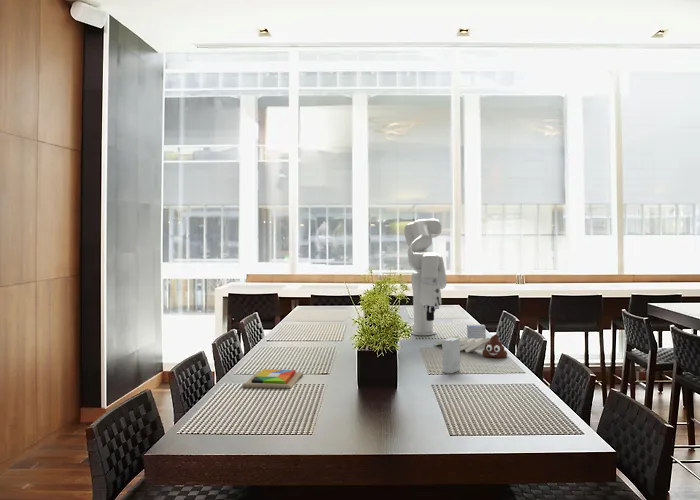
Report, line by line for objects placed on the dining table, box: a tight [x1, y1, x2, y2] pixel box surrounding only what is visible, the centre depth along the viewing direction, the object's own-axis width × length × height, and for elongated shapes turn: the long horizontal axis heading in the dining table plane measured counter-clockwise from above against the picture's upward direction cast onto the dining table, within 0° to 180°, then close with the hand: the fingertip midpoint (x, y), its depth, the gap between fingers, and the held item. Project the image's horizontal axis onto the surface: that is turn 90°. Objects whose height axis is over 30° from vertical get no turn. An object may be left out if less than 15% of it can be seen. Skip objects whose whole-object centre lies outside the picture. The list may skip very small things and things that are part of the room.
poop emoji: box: [481, 333, 508, 359], centre depth 241 cm, size 10×8×9 cm
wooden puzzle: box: [241, 368, 304, 389], centre depth 210 cm, size 17×19×4 cm
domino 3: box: [460, 338, 483, 352], centre depth 250 cm, size 2×5×11 cm
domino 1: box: [433, 335, 460, 347], centre depth 263 cm, size 2×5×11 cm
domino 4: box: [464, 337, 491, 354], centre depth 247 cm, size 2×5×11 cm
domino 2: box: [460, 338, 475, 346], centre depth 255 cm, size 2×5×11 cm
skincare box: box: [441, 337, 461, 374], centre depth 218 cm, size 6×4×12 cm
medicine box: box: [466, 324, 487, 339], centre depth 267 cm, size 8×4×9 cm, turn 84°
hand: (430, 320), depth 272 cm, fingers closed
